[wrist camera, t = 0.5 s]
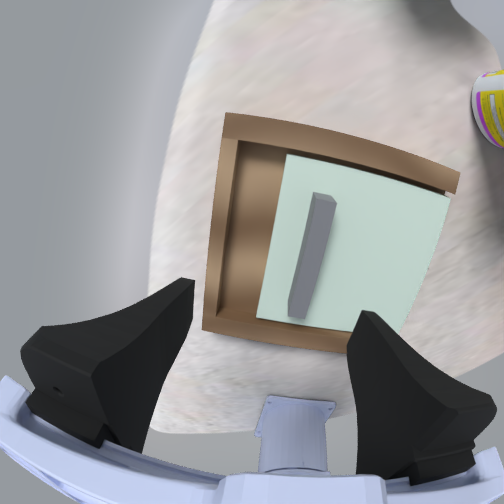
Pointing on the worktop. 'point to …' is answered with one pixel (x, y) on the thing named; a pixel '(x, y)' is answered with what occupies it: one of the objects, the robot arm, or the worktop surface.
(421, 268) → the cover plate
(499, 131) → the supplement bottle
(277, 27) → the worktop surface
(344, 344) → the wooden box
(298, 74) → the worktop surface
